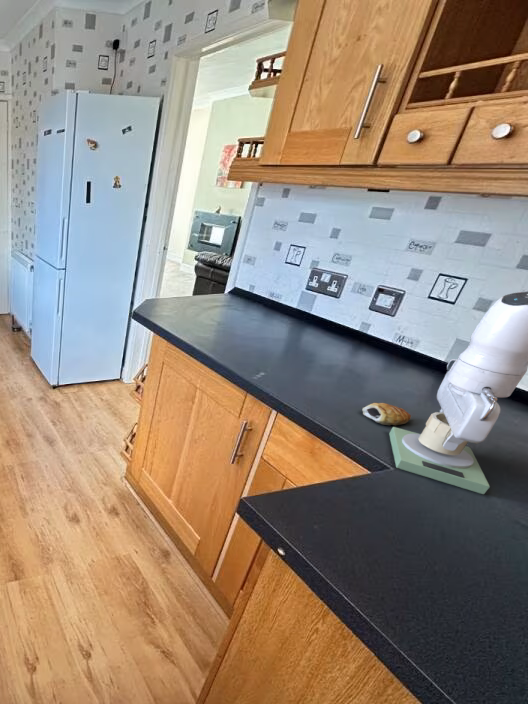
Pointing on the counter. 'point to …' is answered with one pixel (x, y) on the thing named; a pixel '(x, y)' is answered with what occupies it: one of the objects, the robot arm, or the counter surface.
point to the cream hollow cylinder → (438, 434)
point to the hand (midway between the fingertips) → (443, 438)
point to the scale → (437, 462)
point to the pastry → (386, 414)
